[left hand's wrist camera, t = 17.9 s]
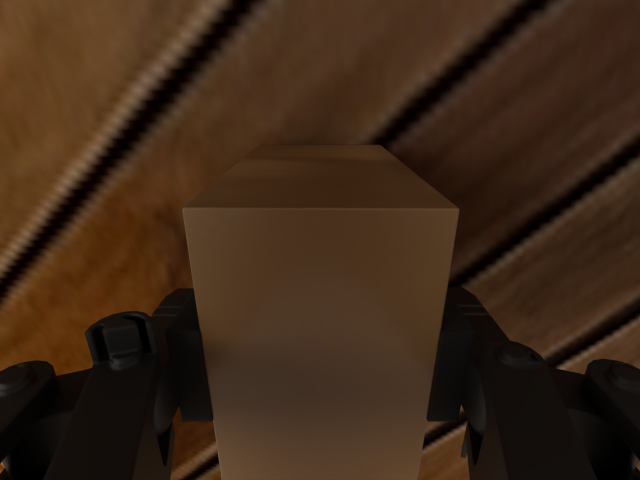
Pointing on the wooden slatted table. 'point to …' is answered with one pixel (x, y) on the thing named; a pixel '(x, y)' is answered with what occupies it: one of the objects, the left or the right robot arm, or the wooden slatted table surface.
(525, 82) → the wooden slatted table surface
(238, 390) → the brick
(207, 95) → the wooden slatted table surface
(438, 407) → the left robot arm
